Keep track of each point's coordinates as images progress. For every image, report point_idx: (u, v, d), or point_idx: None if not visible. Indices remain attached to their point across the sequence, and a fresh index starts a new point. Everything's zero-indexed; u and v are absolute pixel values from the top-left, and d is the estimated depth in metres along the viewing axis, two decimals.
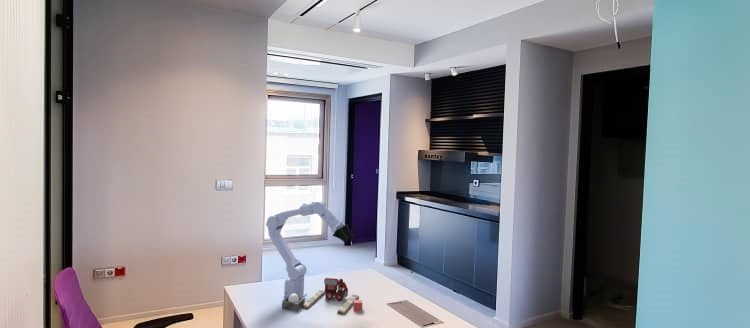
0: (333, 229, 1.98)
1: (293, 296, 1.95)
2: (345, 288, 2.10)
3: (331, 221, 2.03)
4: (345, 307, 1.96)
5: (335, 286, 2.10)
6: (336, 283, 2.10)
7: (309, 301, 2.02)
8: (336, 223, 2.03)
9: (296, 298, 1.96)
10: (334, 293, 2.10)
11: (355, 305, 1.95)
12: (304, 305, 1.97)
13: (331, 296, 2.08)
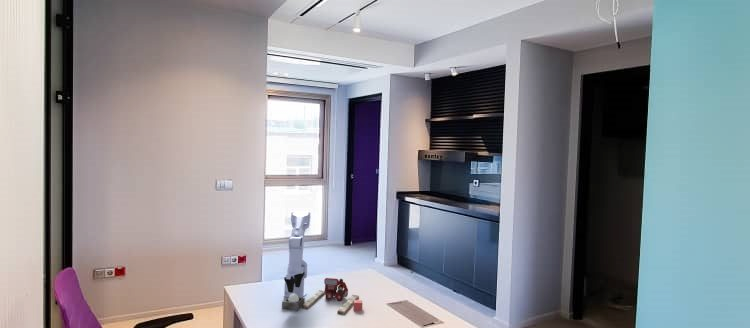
0: (288, 276, 1.90)
1: (293, 296, 1.95)
2: (345, 288, 2.10)
3: (293, 265, 1.94)
4: (345, 307, 1.96)
5: (335, 286, 2.10)
6: (336, 283, 2.10)
7: (309, 301, 2.02)
8: (296, 270, 1.94)
9: (296, 298, 1.96)
10: (334, 293, 2.10)
11: (355, 305, 1.95)
12: (304, 305, 1.97)
13: (331, 296, 2.08)
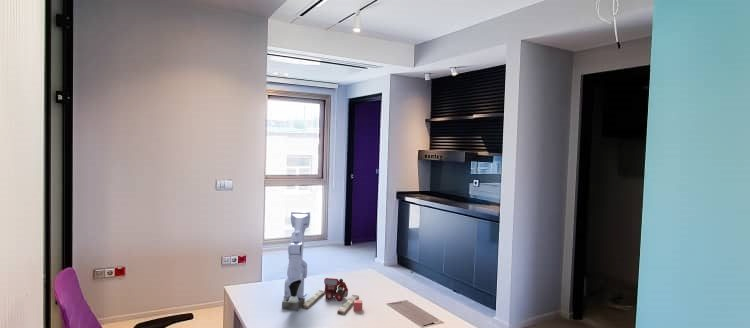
0: (288, 283, 1.90)
1: (293, 298, 1.96)
2: (345, 288, 2.10)
3: (293, 271, 1.94)
4: (345, 307, 1.96)
5: (335, 286, 2.10)
6: (336, 283, 2.10)
7: (309, 301, 2.02)
8: (295, 276, 1.94)
9: (296, 300, 1.96)
10: (334, 293, 2.10)
11: (355, 305, 1.95)
12: (304, 305, 1.97)
13: (331, 296, 2.08)
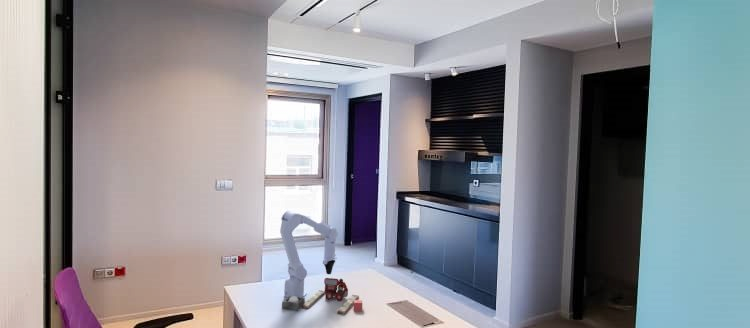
0: (325, 262, 2.17)
1: (293, 299, 1.96)
2: (345, 288, 2.10)
3: (329, 252, 2.21)
4: (345, 307, 1.96)
5: (335, 286, 2.10)
6: (336, 283, 2.10)
7: (309, 301, 2.02)
8: (330, 256, 2.21)
9: (296, 301, 1.96)
10: (334, 293, 2.10)
11: (355, 305, 1.95)
12: (304, 305, 1.97)
13: (331, 296, 2.08)
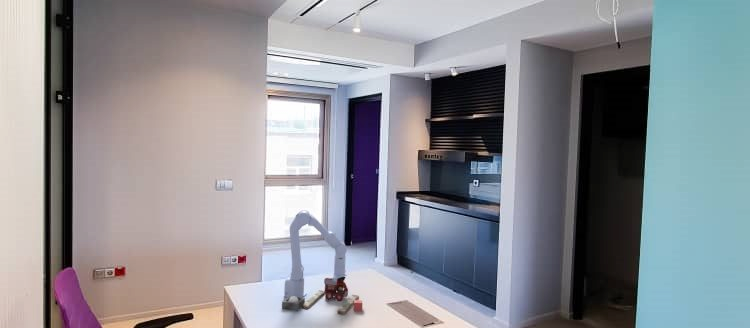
0: (335, 279, 2.08)
1: (293, 299, 1.96)
2: (345, 288, 2.10)
3: (339, 268, 2.12)
4: (345, 307, 1.96)
5: (335, 286, 2.10)
6: (336, 283, 2.10)
7: (309, 301, 2.02)
8: (341, 273, 2.12)
9: (296, 301, 1.96)
10: (334, 293, 2.10)
11: (355, 305, 1.95)
12: (304, 305, 1.97)
13: (331, 296, 2.08)
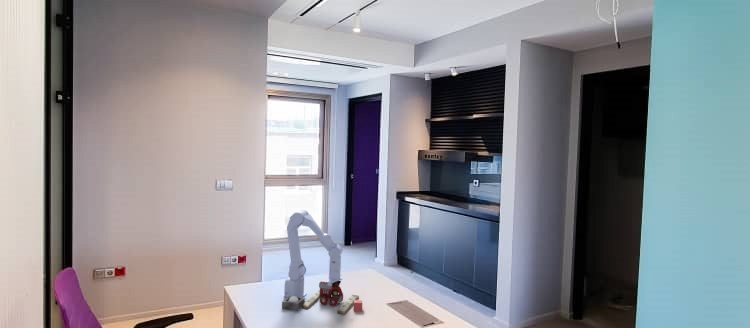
0: (330, 283, 2.01)
1: (293, 299, 1.96)
2: (340, 293, 2.02)
3: (334, 272, 2.05)
4: (345, 307, 1.96)
5: (330, 290, 2.03)
6: (331, 287, 2.03)
7: (309, 301, 2.02)
8: (336, 277, 2.05)
9: (296, 301, 1.96)
10: (329, 297, 2.03)
11: (355, 305, 1.95)
12: (304, 305, 1.97)
13: (325, 300, 2.01)
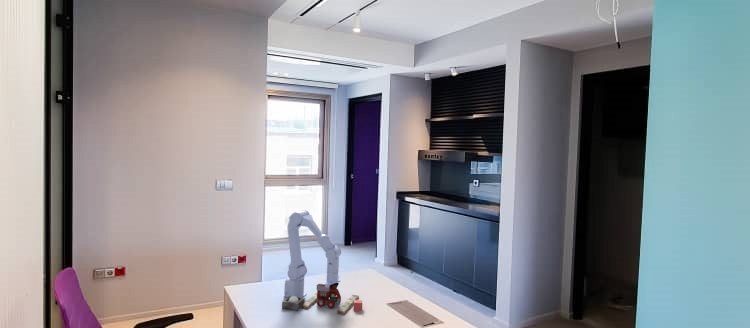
0: (327, 285, 1.98)
1: (293, 299, 1.96)
2: (338, 295, 1.99)
3: (331, 274, 2.02)
4: (345, 307, 1.96)
5: (327, 293, 2.00)
6: (328, 290, 2.00)
7: (309, 301, 2.02)
8: (334, 279, 2.02)
9: (296, 301, 1.96)
10: (326, 300, 2.00)
11: (355, 305, 1.95)
12: (304, 305, 1.97)
13: (322, 303, 1.98)
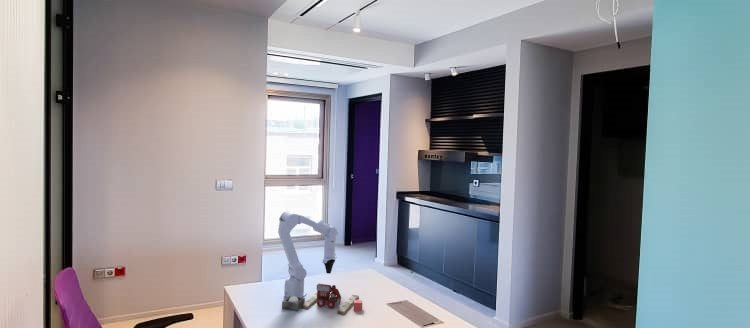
0: (324, 261, 2.15)
1: (293, 299, 1.96)
2: (338, 295, 1.99)
3: (328, 251, 2.19)
4: (345, 307, 1.96)
5: (327, 293, 2.00)
6: (328, 290, 2.00)
7: (309, 301, 2.02)
8: (330, 255, 2.19)
9: (296, 301, 1.96)
10: (326, 300, 2.00)
11: (355, 305, 1.95)
12: (304, 305, 1.97)
13: (322, 303, 1.98)
